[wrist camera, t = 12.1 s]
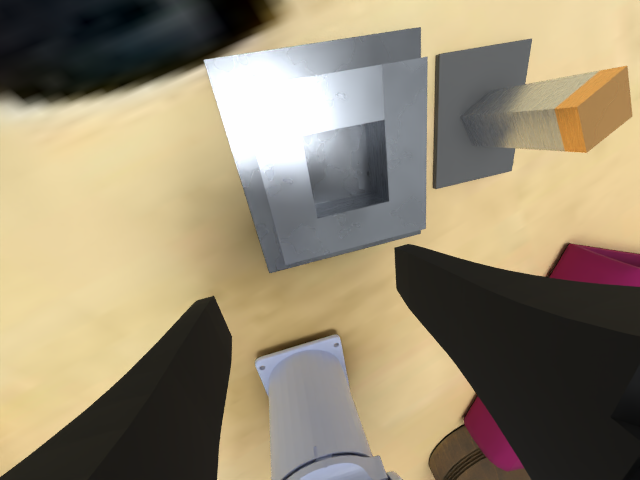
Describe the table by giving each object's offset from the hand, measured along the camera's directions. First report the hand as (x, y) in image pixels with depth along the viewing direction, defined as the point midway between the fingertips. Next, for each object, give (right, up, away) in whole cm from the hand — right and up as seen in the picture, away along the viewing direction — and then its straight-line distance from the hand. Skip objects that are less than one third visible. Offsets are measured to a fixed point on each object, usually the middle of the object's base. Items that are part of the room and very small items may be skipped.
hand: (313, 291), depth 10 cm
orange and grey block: (+12, +11, +9) cm, 19 cm away
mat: (+12, +11, +9) cm, 19 cm away
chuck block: (+1, +7, +8) cm, 11 cm away
